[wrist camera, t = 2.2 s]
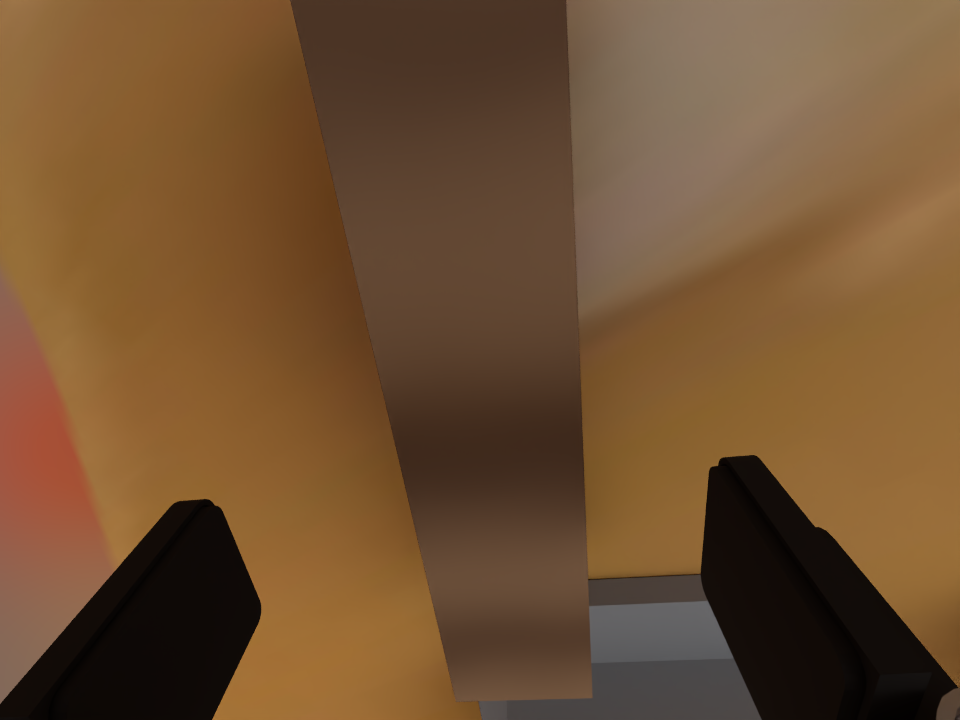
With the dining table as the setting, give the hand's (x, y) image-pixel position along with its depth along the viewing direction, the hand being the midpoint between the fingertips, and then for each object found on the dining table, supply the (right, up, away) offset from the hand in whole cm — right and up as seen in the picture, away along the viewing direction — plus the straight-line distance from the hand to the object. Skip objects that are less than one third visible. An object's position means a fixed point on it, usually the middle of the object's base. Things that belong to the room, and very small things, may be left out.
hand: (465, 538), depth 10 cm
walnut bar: (+1, +4, +6) cm, 8 cm away
